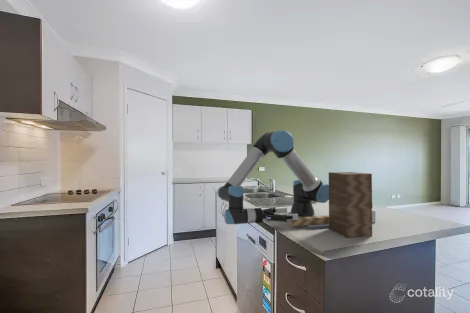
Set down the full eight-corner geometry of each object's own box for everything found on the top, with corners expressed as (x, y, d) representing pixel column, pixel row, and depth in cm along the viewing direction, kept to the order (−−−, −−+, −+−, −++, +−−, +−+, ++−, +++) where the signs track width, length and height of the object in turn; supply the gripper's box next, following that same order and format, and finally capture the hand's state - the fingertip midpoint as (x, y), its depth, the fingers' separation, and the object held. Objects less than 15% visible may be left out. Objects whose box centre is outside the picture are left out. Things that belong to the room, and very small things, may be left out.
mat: (308, 229, 123) (308, 226, 123) (299, 224, 133) (299, 221, 133) (332, 227, 125) (332, 225, 125) (322, 222, 135) (322, 220, 135)
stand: (346, 238, 110) (345, 174, 110) (329, 229, 124) (328, 172, 124) (372, 235, 113) (371, 173, 113) (352, 227, 126) (351, 171, 126)
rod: (293, 225, 125) (293, 219, 125) (290, 224, 128) (290, 217, 128) (336, 222, 129) (336, 216, 129) (333, 221, 133) (333, 215, 133)
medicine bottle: (375, 223, 134) (375, 202, 134) (362, 222, 135) (361, 201, 135) (370, 219, 141) (370, 200, 141) (358, 219, 142) (357, 199, 142)
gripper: (248, 216, 134) (282, 214, 138) (261, 230, 110) (303, 227, 114) (248, 203, 134) (282, 202, 138) (261, 214, 110) (303, 211, 114)
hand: (292, 213), depth 126 cm, fingers open, 13 cm apart
